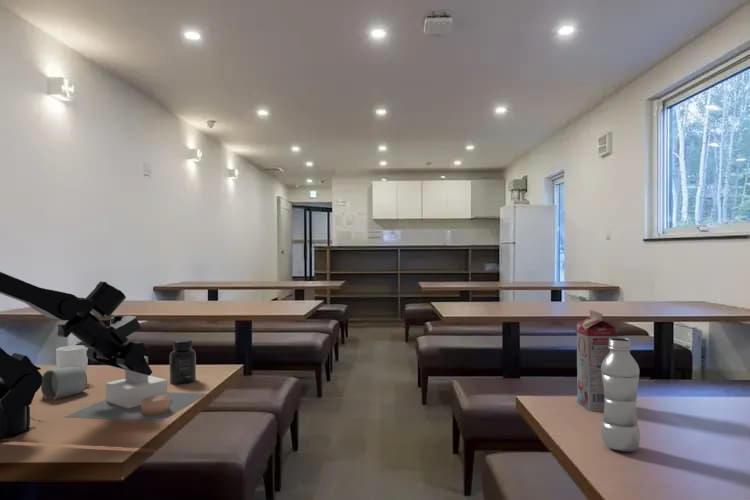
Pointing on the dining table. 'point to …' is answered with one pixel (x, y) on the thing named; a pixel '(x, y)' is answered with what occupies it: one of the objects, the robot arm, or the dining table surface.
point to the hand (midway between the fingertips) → (140, 371)
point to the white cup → (72, 357)
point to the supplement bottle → (182, 363)
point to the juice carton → (592, 360)
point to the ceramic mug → (63, 382)
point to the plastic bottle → (620, 397)
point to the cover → (134, 388)
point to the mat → (136, 409)
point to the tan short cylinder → (155, 405)
